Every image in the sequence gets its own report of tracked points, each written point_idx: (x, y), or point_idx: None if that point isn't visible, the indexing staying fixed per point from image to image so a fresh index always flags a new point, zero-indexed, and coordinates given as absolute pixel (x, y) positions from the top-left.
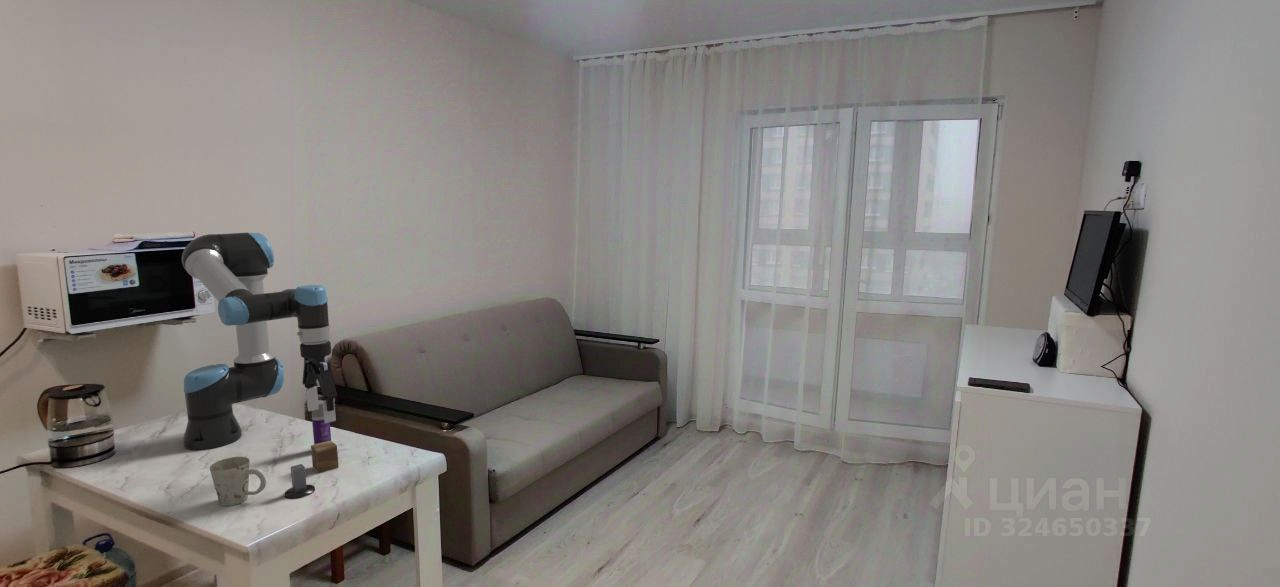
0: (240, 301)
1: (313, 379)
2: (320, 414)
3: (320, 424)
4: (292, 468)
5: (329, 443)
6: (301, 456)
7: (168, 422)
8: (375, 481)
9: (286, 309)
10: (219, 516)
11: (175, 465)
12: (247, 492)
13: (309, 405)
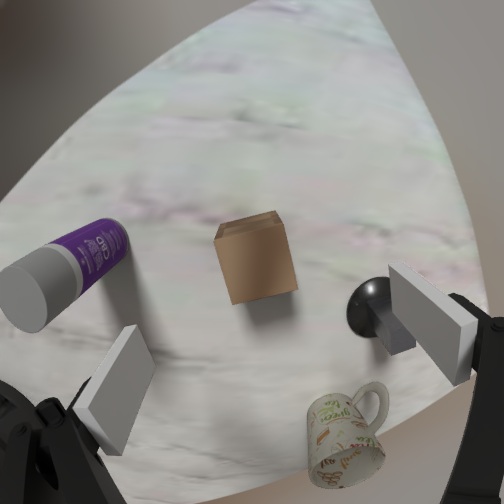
0: None
1: (109, 489)
2: (71, 285)
3: (90, 273)
4: (405, 350)
5: (247, 246)
6: (135, 296)
7: None
8: (420, 139)
9: None
10: None
11: (108, 465)
12: (356, 402)
13: (145, 380)
